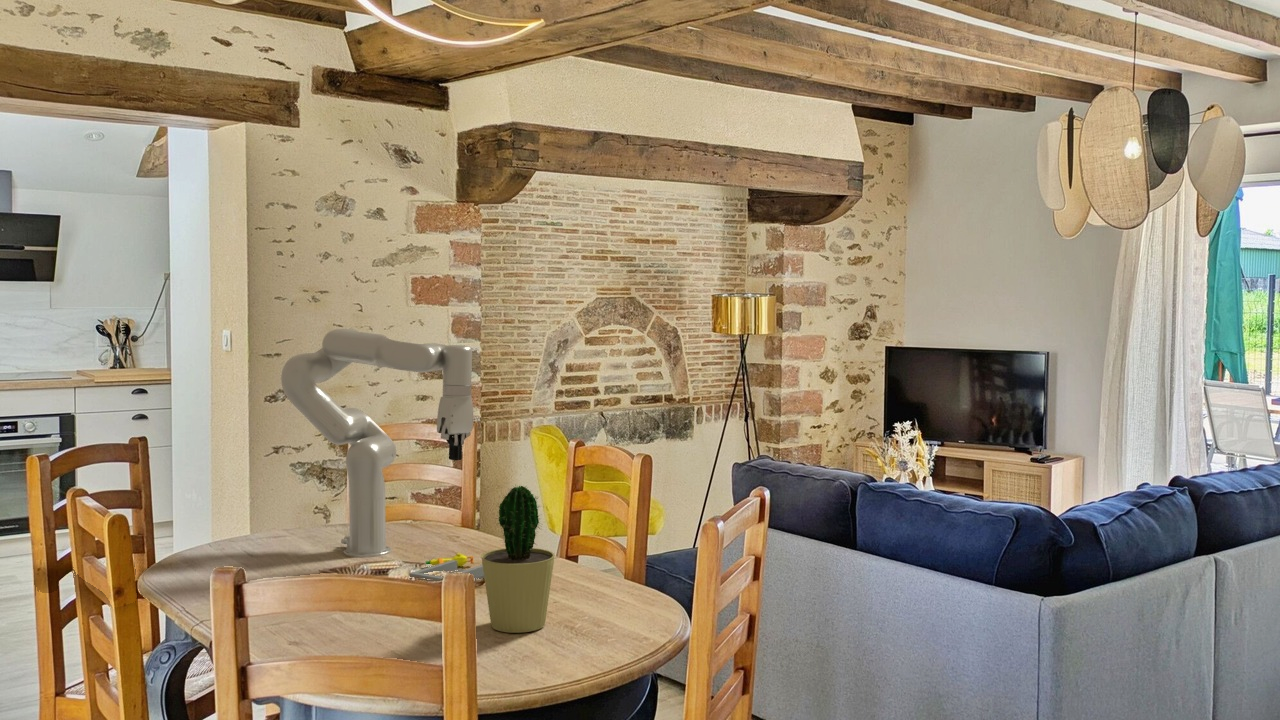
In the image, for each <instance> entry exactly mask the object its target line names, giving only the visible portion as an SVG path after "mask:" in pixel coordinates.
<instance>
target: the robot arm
mask: <svg viewBox="0 0 1280 720" xmlns="http://www.w3.org/2000/svg"><path fill="white" fill-rule="evenodd" d="M472 350H473V349H472V348H471V347H470V346H468V345H462V344H451V345H449V344H448V345H445V344H441V343H437V342H436V343H434V342H430V343H413V342H408V341H406V342H405V341H400V340H394V339H390V338H389V337H387V336H386V335H384V334H378V333H370V332H363V331H358V330H356V329H353V328H336V329H332V330H330V331H328V332H327V333H326V334H325V335H324V337H323V339H322V343H321V348H319V349H318V350H316V351H315V352H308V353H307V352H306V353H299V354H295V355H293V356H292V357H290V358H289V359H288V360H287V361H286V362H285V363H284V365H283V367H282V371H281V377H280V379H281V383H280V384H281V387H282V390H283V393H284V395H285V396H286V398H287V400H289V402H291V404H292V405H293V407H295V408H296V409H297V410H298V411H299V412H300V413H301V414H302V415H303V416H304V417H305V418H306V419H307V420H308V421H309V422H310V423H311V424H312V425H313V426H314V427H315V429H317V431H319V432H320V434H321V435H322V436H323V437H325V438H326V440H327V441H328V442H330V443H332V444H333V445H336V446H343V445H347V444H349V445H350V446H349V448H348V450H347V452H346V456H345V465H346V472H347V478H348V498H349V499H348V501H349V503H348V505H349V512H348V514H349V518H348V519H349V535H345V536H344V538H341V540H340V544H343V545H346V549H344V550H343V554H344V555H345V556H348V557H352V558H353V557H354V558H375V557H382V556H385V555H388V554H390V553H392V551H393V550H392V547H390V546H387V544H386V543H387V542H386V540H387V539H386V538H387V537H386V535H387V534H386V483H385V479H384V473H383V469H385V468H387V467H389V466H390V465H392V464H393V462H395V459H396V458H397V457H396V456H397V447H396V444H395V443H394V441H393V440H392V438H391V437H390V435H388V434H387V433H386V432H385V431H384V430H383V429H382V428H381V426H379V425H378V424H377V423H376V422H375V421H374V420H373V418H371V417H370V416H369V415H368V414H367V413H365V412H364V411H363V410H361V409H359V408H355V407H346V408H344V407H342V406H341V405H340V404H338V402H336V401H335V400H334V399H333V398H332V396H331V395H330V394H329V393H327V392H326V391H325V390H323V389H322V388H320V387H319V386H318V385H317V384H319V383H323V382H324V383H325V382H327V381H328V380H330V379H331V378H333V377H335V376H336V375H337V374H339V373H340V372H341V371H343V370H344V369H345V368H347V367H348V366H349V365H351V364H352V363H354V364H355V363H356V364H361V365H367V366H368V365H369V366H374V367H375V366H376V367H381V368H388V369H393V370H398V371H406V372H411V373H412V372H413V373H419V374H421V373H424V374H425V373H429V372H437V371H442V396H440V399H439V402H438V403H439V404H438V408H437V416H436V417H437V418H436V431H437V433H438V434H440V439H441V440H446V443H447V445H448V460H450V461H457V462H458V461H462V459H463V446H464V444H465V440H466V439H467V438H469V437H471V432H472V431H473V429H474V428H473V427H474V406H473V404H474V403H473V397H472V375H473V374H472V373H473V368H472V366H473V365H472V364H473V351H472Z"/></svg>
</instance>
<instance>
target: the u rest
mask: <svg viewBox="0 0 1280 720" xmlns="http://www.w3.org/2000/svg"><path fill="white" fill-rule="evenodd" d="M443 570H444V571H449V570H450V571H454V572H462V573H470V574H473V575H474V578H475V582H474V583H476V578H477V579H478V578H479V579H481V578H484V572H483V566H482V564H479V565H477V566H473V567H470V568H467V569H464V568H458V566H457V561H456V560H451V561H448V562H444V563H441V564H438V565H435V566H431V567H430V566H429V567H425V568H422V569H418V570H415V571H412V572H409V574H408V576H410V577H420V578H425V579H418V580H426V581H440V580H441V579H442V578H443V576H442V577H441V576H435V575H429V574H424V573H428V572H433V571H443ZM455 570H458V571H455ZM454 572H449V573H454ZM409 579H412V578H409V577H408V580H409ZM427 579H433V580H427Z"/></svg>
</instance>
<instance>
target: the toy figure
mask: <svg viewBox="0 0 1280 720" xmlns="http://www.w3.org/2000/svg"><path fill="white" fill-rule="evenodd" d="M468 559H470V560H468ZM451 560H456V561H457V568H459V567H460V568H462V567H463V566H465V565H466V564H467V563H470V564H471V565H472V564H474V556H473V555H470V556H467V555H464V554H462V553H461V552H457V553H456V554H455V555H454V556H453V557H451V558H440V557H439V558H434V559H430V560H429V561H428V560H426V561H425V565H426V564H432V565H438V564H441V563H444V562H448V561H451Z"/></svg>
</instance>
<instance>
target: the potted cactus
mask: <svg viewBox="0 0 1280 720" xmlns="http://www.w3.org/2000/svg"><path fill="white" fill-rule="evenodd" d="M508 491H509V492H508V493H506V492H505V494H506V495H505V494H502V493H501V495H502V501H501V502H499V504H497V505H496V504H495V506H496V507H498V509H499V510H498V515H499V516H497V517H498V518H495V519H498V522H497V523H496V525H499V526H498V528H501V532H503V534H502V537H503V538H504V539H502V540H501V541H502V543H504V546H505V547H504V548H497V549H492V550H489V551H485V552H484V553H482V554H481V555H480V558H481V563H482V564H481V565H482V566H483V572H484V579H483V580H484V585H485V590H486V598H487V604H488V605H487V606H488V612H489V619H490V624H491V628H492V629H494V630H496V631H498V632H502V633H510V634H511V633H514V634H515V633H517V634H518V633H528V632H534V631H537V630H540V629H542V628H543V627H545V625H546V624H545V623H546V620H547V613H548V606H549V605H548V604H549V598H550V590H551V585H552V584H551V583H552V578H553V572H554V571H553V570H554V563H555V553H554V552H553V551H550V550H548V549H543V548H537V547H534V545H537V543H535V539H536V537H538V535H537V533H539V531H537V530H538V529H539V530H542V528H540V527H542V523H540V520H541V519H542V518H539V517H540V516H541V515H540V514H539V510H540V509H539V508H541V507H542V505H541V506H540V505H538V501H537V500H538V499H539V497H535V496H534V494H532V491H531V490H529V489H528V487H526V486H524V485H516V486H513V487H512V488H508ZM542 520H543V519H542Z"/></svg>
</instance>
